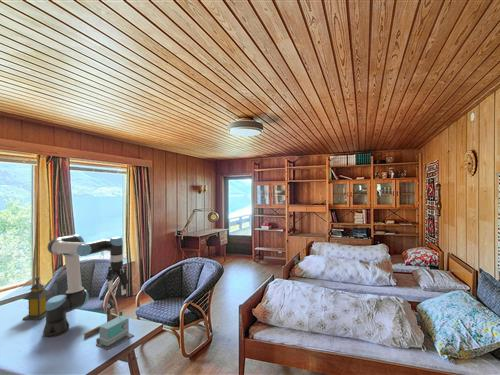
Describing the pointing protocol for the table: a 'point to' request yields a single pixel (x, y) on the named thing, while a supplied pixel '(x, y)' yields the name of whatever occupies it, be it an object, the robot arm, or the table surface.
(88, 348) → the table surface
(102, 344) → the rubber mat
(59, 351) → the table surface
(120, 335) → the radio
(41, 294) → the lantern
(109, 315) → the shelf cradle
